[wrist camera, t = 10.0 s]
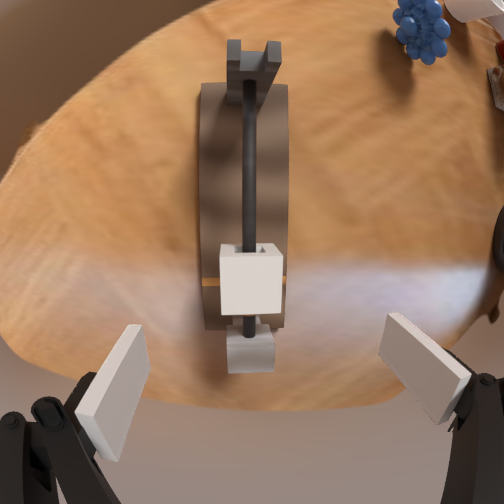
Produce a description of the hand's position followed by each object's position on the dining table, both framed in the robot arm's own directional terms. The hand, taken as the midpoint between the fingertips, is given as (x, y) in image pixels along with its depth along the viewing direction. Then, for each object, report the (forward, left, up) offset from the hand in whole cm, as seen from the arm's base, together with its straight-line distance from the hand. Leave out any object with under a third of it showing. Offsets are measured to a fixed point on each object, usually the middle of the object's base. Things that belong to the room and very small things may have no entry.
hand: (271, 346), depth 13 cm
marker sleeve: (0, 0, -14) cm, 14 cm away
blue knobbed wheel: (+4, -40, -21) cm, 45 cm away
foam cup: (0, -67, -21) cm, 70 cm away
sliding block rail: (+4, -4, -21) cm, 21 cm away
